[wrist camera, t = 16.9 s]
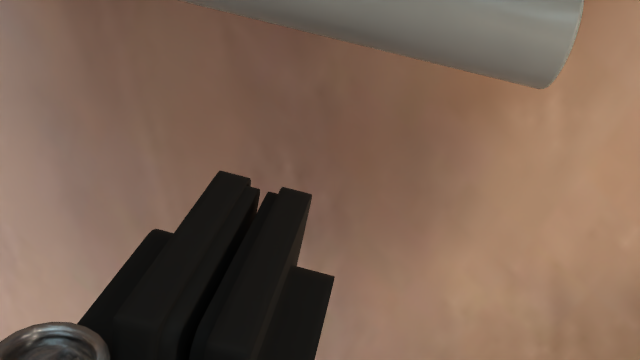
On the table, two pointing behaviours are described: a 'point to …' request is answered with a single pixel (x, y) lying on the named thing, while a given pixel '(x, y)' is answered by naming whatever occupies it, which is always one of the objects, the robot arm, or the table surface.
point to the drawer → (439, 30)
